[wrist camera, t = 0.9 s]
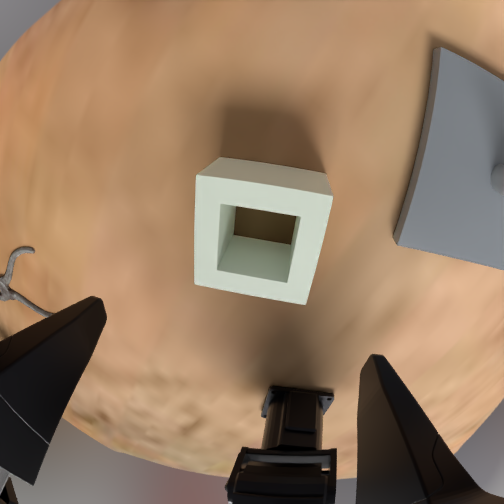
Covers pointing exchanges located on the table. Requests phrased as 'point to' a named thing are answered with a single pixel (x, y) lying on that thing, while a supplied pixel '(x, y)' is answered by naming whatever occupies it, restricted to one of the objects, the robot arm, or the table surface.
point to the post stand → (458, 167)
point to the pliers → (4, 281)
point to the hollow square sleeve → (255, 250)
